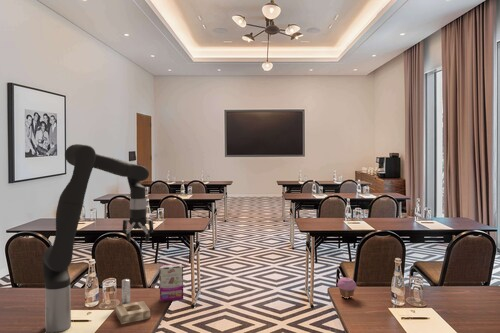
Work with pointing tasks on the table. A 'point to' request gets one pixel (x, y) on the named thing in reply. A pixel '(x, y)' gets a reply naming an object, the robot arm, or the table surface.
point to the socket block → (132, 312)
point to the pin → (125, 291)
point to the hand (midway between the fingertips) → (138, 241)
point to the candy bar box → (171, 282)
